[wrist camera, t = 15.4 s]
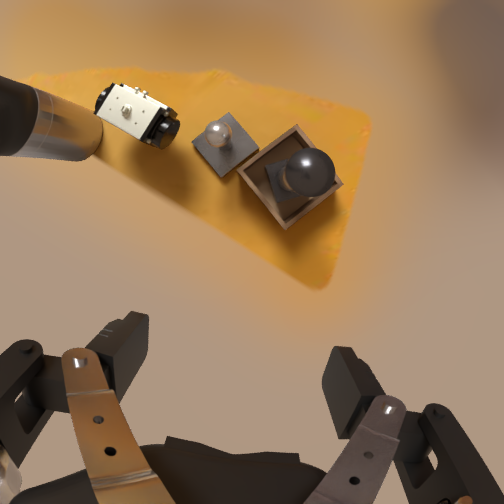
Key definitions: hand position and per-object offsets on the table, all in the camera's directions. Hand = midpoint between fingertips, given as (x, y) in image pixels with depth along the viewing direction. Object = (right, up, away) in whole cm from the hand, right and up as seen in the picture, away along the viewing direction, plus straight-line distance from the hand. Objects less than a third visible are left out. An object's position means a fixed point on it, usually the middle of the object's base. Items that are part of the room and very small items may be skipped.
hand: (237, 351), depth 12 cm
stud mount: (-3, +20, +29) cm, 36 cm away
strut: (+6, +15, +29) cm, 33 cm away
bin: (+6, +15, +30) cm, 34 cm away
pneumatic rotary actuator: (-14, +24, +29) cm, 40 cm away
